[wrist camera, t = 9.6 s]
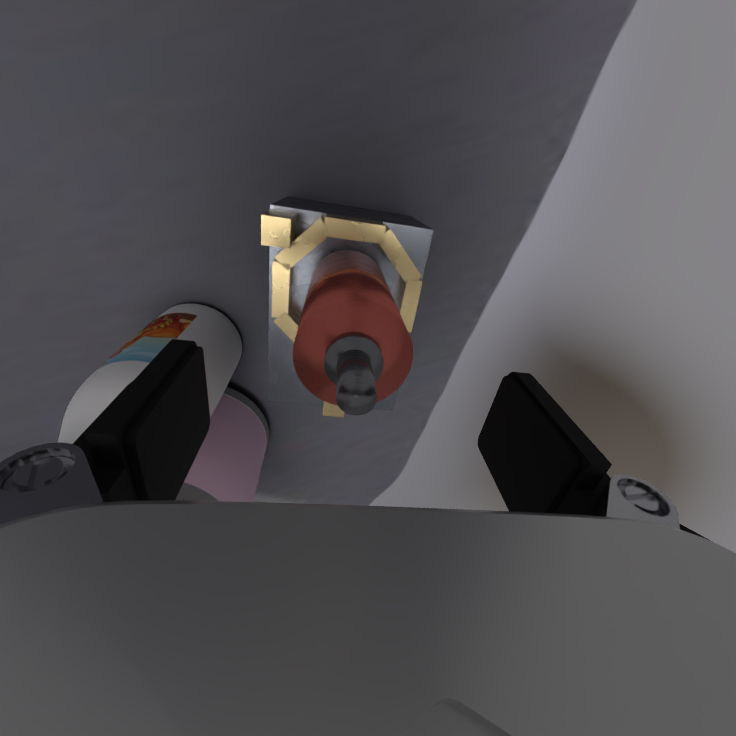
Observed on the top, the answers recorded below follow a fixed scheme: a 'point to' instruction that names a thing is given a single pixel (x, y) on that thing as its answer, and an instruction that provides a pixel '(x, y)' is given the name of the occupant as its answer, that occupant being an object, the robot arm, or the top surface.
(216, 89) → the top surface
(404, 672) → the robot arm
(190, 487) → the blender
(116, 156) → the top surface
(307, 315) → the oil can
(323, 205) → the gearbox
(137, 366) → the milk bottle
